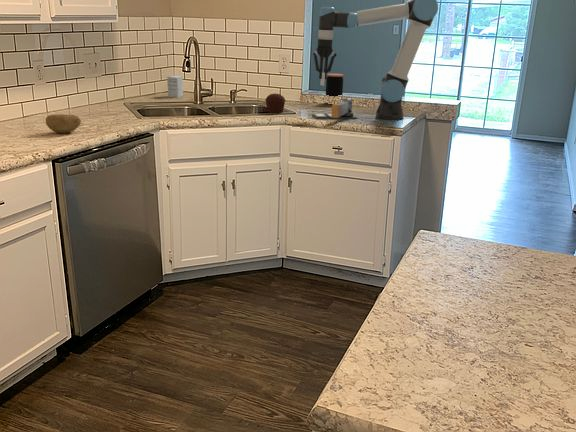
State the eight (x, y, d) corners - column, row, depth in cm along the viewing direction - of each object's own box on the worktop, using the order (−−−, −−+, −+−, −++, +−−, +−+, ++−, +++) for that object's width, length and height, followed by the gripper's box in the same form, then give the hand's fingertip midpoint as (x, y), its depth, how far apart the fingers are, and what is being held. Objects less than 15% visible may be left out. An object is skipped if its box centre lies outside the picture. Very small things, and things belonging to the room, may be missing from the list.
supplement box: (173, 95, 374) (172, 75, 370) (183, 96, 372) (182, 76, 368) (167, 96, 367) (166, 76, 363) (177, 97, 365) (177, 77, 361)
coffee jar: (341, 102, 370) (343, 74, 364) (341, 105, 360) (343, 75, 354) (325, 102, 371) (326, 73, 365) (324, 104, 361) (326, 74, 355)
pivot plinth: (352, 116, 319) (352, 111, 318) (357, 118, 311) (357, 114, 310) (336, 116, 317) (336, 111, 317) (341, 118, 309) (341, 113, 308)
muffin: (289, 112, 324) (290, 94, 321) (275, 114, 316) (276, 95, 313) (274, 109, 331) (274, 92, 328) (260, 111, 324) (260, 93, 320)
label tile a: (335, 115, 318) (335, 113, 317) (340, 119, 309) (340, 116, 308) (324, 115, 317) (324, 113, 316) (329, 118, 307) (329, 116, 307)
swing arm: (344, 111, 316) (344, 98, 314) (352, 112, 315) (353, 98, 312) (329, 116, 296) (330, 102, 294) (339, 117, 294) (340, 103, 292)
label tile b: (323, 115, 316) (323, 113, 316) (327, 118, 307) (327, 116, 307) (312, 115, 315) (312, 113, 315) (316, 118, 306) (316, 116, 306)
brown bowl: (82, 134, 246) (81, 115, 244) (47, 135, 241) (45, 116, 238) (80, 130, 255) (79, 111, 252) (46, 131, 249) (44, 112, 247)
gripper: (335, 39, 303) (332, 84, 311) (311, 37, 301) (308, 84, 308) (339, 39, 296) (335, 86, 304) (314, 38, 294) (311, 85, 301)
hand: (322, 85), depth 306 cm, fingers closed
